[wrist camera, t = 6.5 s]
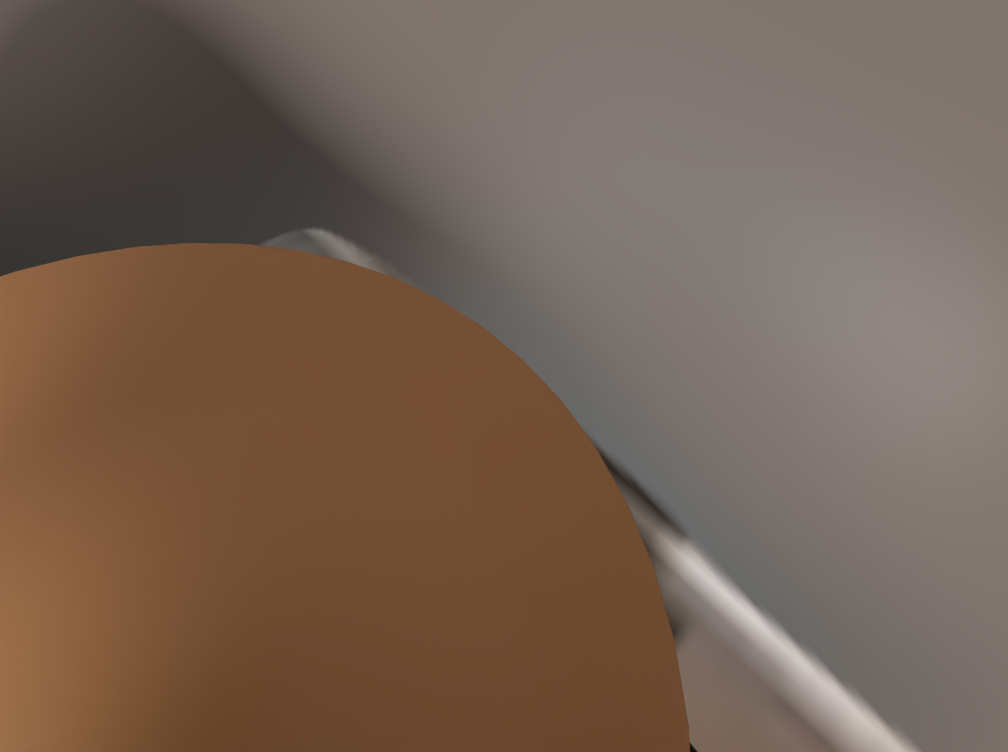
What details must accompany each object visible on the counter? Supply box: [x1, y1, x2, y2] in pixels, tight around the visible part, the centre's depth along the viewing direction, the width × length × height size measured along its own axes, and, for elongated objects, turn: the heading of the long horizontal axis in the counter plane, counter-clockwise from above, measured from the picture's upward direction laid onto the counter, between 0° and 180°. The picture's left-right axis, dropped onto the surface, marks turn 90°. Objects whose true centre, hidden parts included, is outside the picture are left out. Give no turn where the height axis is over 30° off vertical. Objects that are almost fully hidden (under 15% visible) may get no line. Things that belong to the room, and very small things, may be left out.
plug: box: [0, 243, 690, 752], centre depth 8 cm, size 5×5×14 cm
